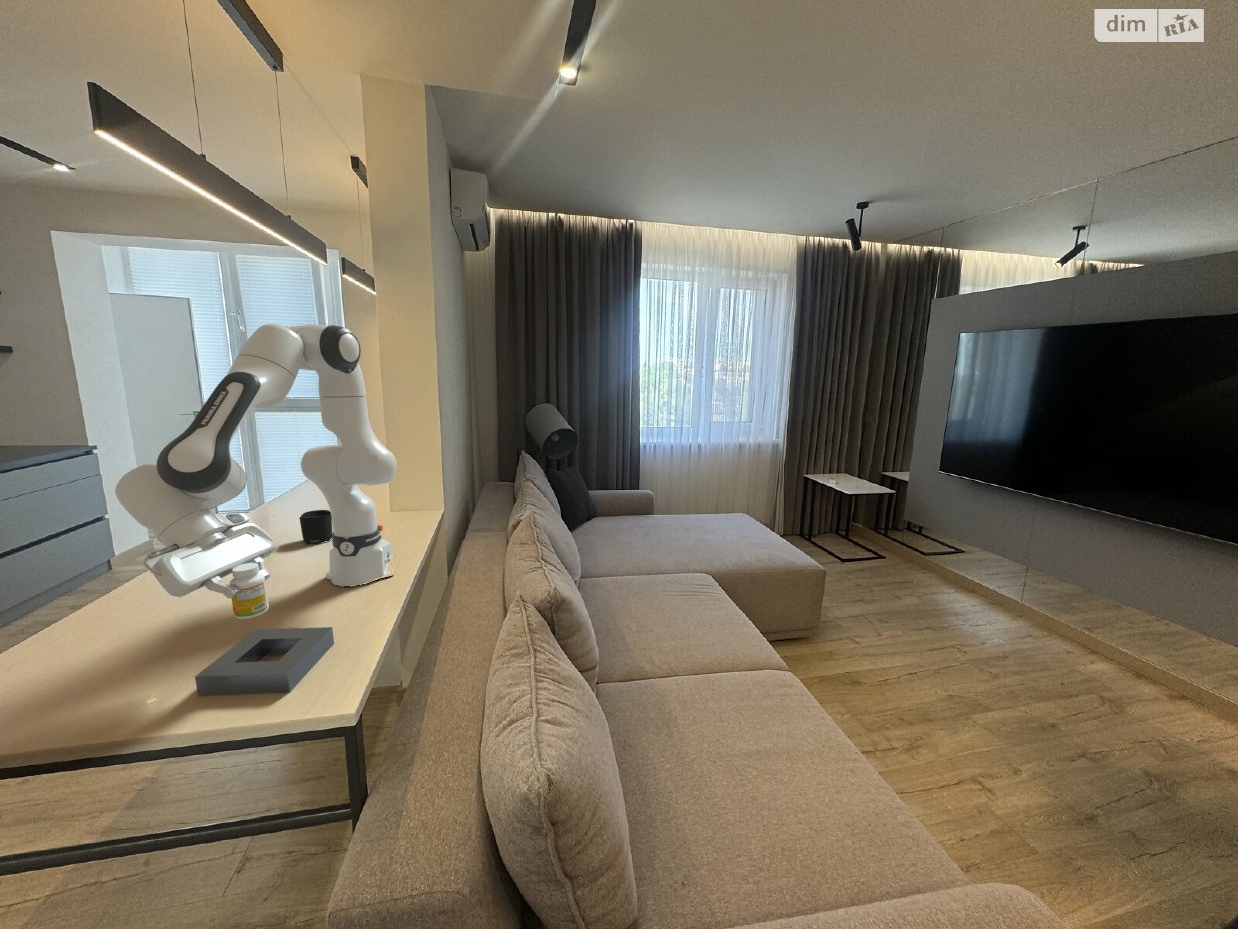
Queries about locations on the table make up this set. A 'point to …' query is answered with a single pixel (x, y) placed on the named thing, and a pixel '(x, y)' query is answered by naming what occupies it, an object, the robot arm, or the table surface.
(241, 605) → the supplement bottle
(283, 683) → the grey square frame
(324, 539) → the pen holder
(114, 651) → the table surface
